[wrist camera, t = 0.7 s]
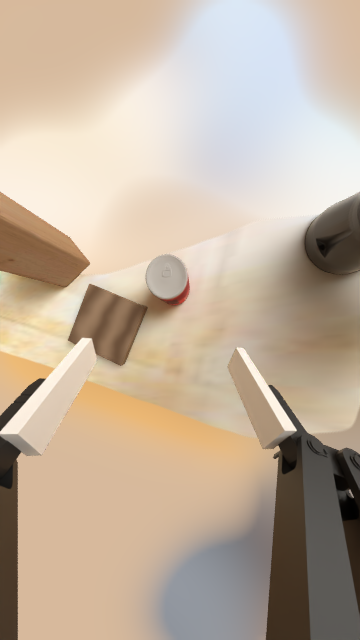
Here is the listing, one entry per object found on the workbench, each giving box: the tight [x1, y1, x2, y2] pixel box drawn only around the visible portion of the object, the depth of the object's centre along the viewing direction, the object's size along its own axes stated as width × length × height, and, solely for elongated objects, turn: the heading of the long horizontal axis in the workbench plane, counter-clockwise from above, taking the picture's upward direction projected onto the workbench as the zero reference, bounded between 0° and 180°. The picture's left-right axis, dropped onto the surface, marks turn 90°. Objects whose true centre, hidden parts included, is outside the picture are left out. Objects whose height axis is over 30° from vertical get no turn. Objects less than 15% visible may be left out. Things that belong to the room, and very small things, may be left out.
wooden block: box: [0, 192, 90, 287], centre depth 28 cm, size 10×10×20 cm
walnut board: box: [68, 284, 147, 366], centre depth 36 cm, size 16×16×2 cm
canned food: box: [146, 254, 190, 305], centre depth 30 cm, size 8×8×11 cm
